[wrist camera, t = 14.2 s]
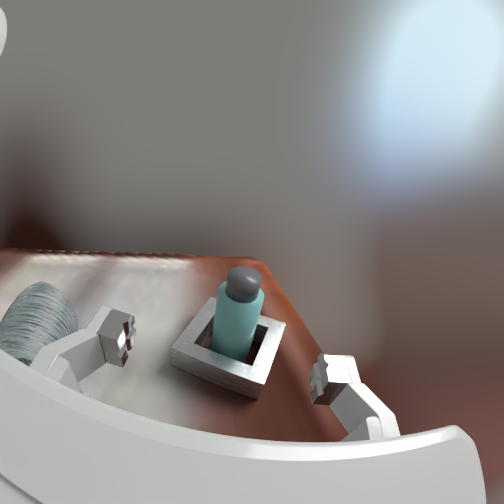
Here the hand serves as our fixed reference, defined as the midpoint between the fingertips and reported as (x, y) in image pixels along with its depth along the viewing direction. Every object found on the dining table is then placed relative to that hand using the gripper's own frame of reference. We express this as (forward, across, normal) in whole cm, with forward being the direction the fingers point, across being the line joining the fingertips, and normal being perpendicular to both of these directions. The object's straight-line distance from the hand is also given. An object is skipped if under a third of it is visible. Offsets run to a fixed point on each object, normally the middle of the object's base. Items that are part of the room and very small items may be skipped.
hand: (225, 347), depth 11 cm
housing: (+14, -1, +16) cm, 21 cm away
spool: (+5, +19, +17) cm, 26 cm away
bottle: (+14, -1, +16) cm, 21 cm away
